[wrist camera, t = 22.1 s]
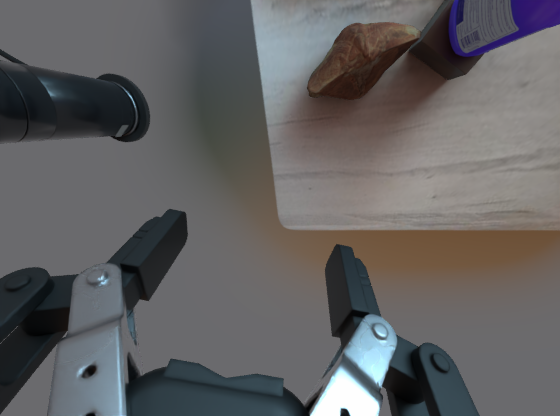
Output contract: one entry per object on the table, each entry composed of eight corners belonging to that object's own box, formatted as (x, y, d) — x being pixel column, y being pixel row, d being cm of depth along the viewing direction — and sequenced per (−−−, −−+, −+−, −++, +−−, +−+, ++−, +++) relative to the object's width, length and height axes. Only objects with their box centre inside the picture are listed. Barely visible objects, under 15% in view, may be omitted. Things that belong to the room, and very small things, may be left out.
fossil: (429, 4, 24) (418, 27, 19) (411, 82, 31) (399, 116, 25) (324, 22, 30) (294, 44, 25) (326, 85, 36) (303, 113, 31)
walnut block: (407, 50, 29) (421, 40, 25) (457, -18, 26) (480, -41, 22) (447, 80, 30) (466, 74, 26) (501, 16, 26) (530, -1, 23)
